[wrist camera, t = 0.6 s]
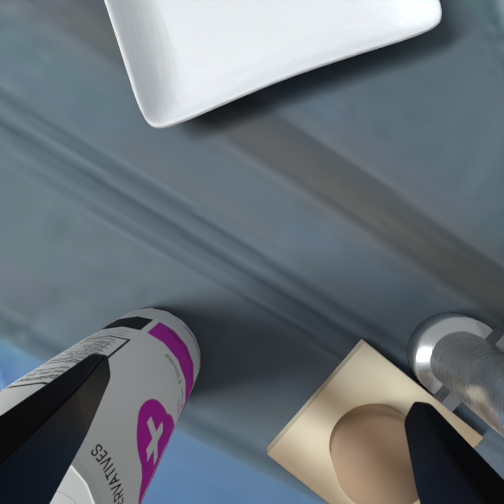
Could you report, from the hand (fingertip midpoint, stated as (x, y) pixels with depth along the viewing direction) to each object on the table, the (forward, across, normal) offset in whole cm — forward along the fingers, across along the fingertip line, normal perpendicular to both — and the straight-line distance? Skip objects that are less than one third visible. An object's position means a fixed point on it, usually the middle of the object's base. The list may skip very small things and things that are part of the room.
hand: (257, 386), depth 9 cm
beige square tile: (+10, -11, +17) cm, 22 cm away
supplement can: (+12, +8, +13) cm, 19 cm away
